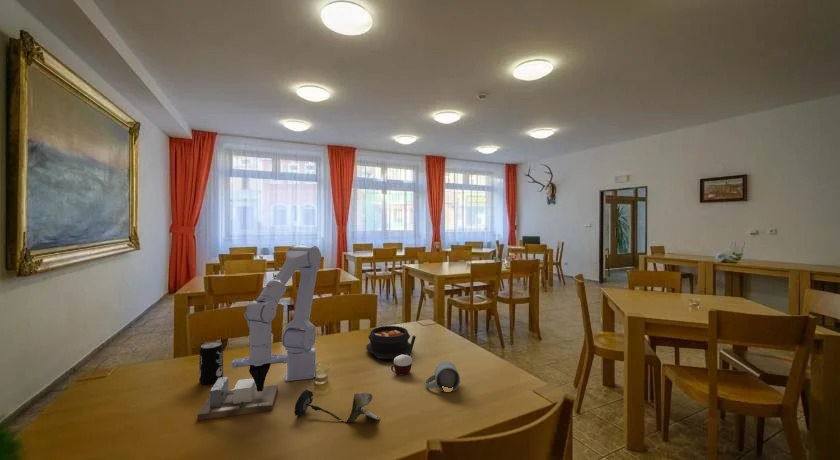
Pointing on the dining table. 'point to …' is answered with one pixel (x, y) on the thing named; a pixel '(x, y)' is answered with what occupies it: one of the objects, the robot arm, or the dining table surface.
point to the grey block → (218, 393)
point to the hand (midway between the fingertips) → (260, 389)
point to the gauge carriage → (242, 391)
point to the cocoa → (404, 361)
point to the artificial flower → (305, 401)
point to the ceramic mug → (444, 376)
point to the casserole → (388, 342)
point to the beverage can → (210, 363)
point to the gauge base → (258, 404)
